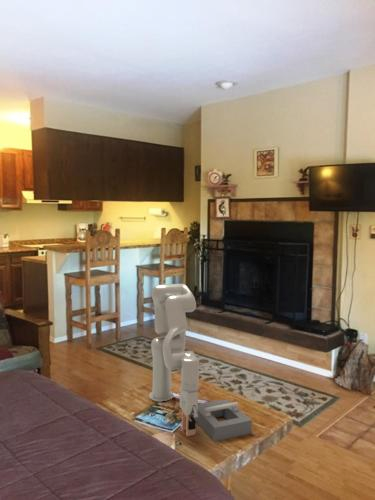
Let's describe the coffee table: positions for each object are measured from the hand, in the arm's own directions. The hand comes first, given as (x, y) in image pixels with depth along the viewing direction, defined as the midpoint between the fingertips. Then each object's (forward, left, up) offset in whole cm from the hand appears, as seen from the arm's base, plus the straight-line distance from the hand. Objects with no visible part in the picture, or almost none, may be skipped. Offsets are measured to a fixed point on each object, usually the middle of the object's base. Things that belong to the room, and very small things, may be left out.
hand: (188, 424), depth 185 cm
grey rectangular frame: (0, +16, -3) cm, 16 cm away
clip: (0, 0, -3) cm, 3 cm away
